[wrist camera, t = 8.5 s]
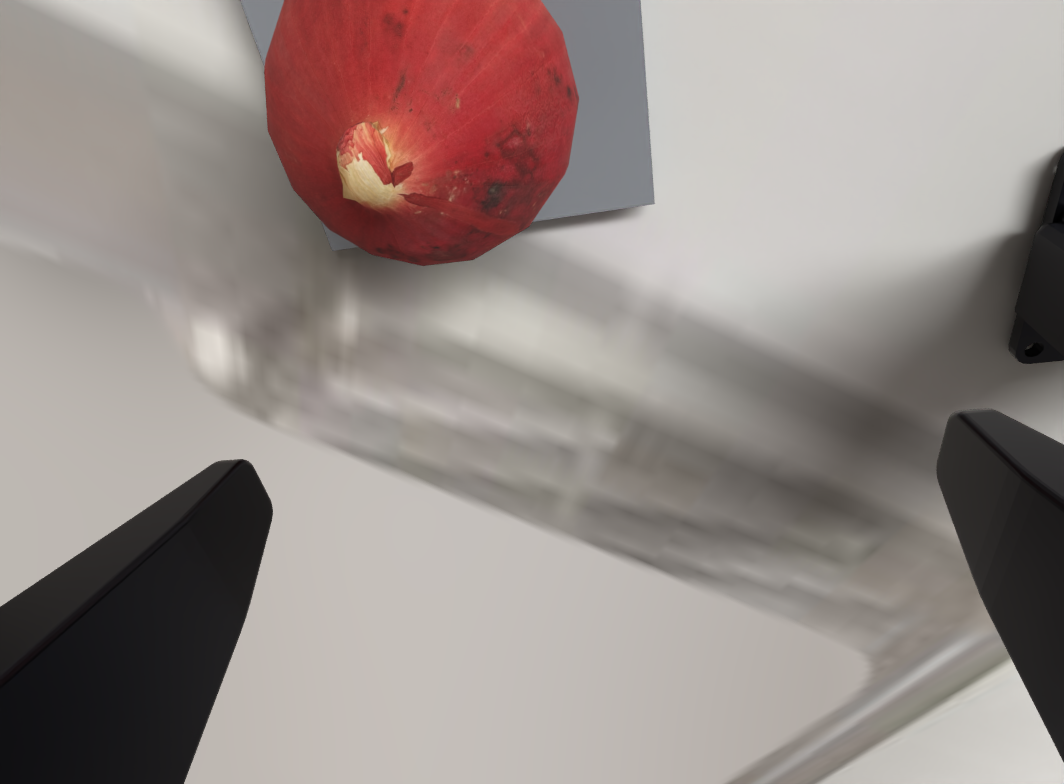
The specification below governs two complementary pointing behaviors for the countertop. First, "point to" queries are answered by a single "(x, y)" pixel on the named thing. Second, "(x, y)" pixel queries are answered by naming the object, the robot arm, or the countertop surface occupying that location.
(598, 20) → the slate tile
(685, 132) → the countertop surface
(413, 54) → the onion
